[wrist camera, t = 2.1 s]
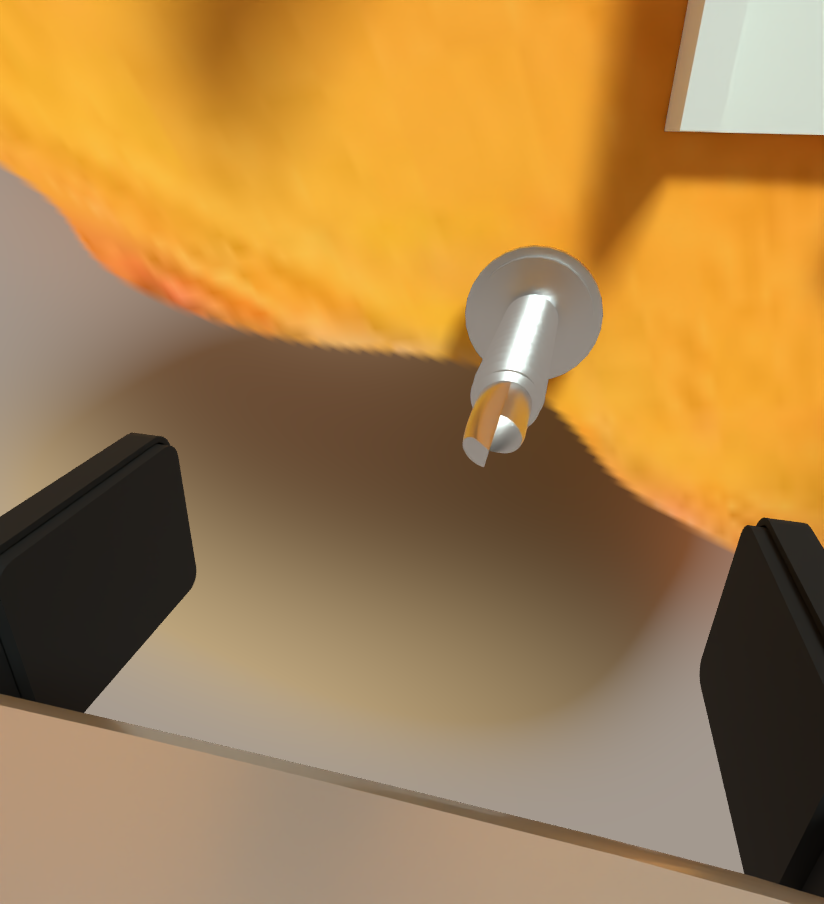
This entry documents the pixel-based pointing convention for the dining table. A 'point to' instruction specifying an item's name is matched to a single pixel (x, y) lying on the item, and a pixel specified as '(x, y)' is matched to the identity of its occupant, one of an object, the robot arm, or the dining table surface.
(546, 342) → the screw
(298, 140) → the dining table surface
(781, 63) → the rack
